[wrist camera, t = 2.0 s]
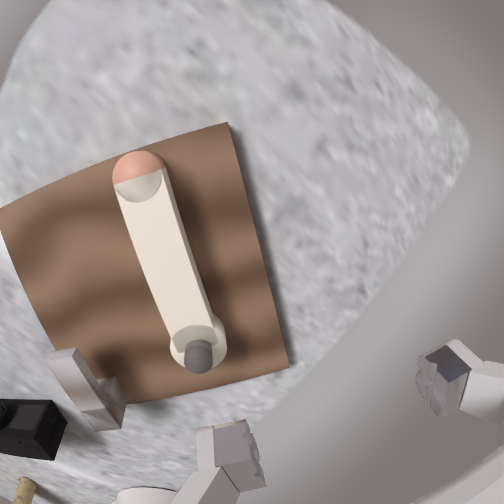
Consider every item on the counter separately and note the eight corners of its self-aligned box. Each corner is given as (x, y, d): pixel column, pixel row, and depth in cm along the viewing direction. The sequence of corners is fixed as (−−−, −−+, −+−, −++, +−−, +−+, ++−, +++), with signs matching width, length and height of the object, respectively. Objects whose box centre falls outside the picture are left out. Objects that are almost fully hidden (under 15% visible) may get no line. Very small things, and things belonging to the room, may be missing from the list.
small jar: (33, 492, 37) (23, 528, 28) (17, 483, 36) (6, 518, 27) (38, 483, 36) (26, 522, 27) (20, 473, 35) (7, 512, 25)
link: (231, 346, 28) (233, 362, 26) (182, 358, 28) (181, 375, 25) (166, 142, 22) (162, 141, 19) (109, 161, 22) (99, 163, 19)
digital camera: (47, 391, 29) (29, 432, 23) (68, 422, 31) (54, 462, 25) (-6, 391, 29) (-26, 425, 22) (14, 419, 30) (-2, 453, 24)
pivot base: (286, 358, 31) (302, 398, 26) (97, 400, 30) (85, 439, 25) (226, 123, 24) (232, 115, 18) (2, 208, 23) (-36, 224, 17)
